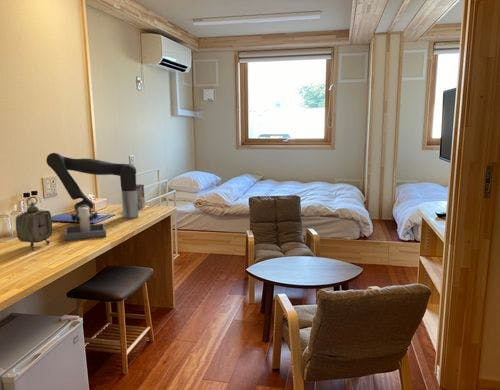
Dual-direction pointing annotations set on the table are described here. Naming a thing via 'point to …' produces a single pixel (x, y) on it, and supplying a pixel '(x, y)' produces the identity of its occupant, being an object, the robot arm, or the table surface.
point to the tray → (95, 232)
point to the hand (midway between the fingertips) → (84, 219)
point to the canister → (84, 219)
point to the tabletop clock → (34, 225)
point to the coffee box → (140, 197)
